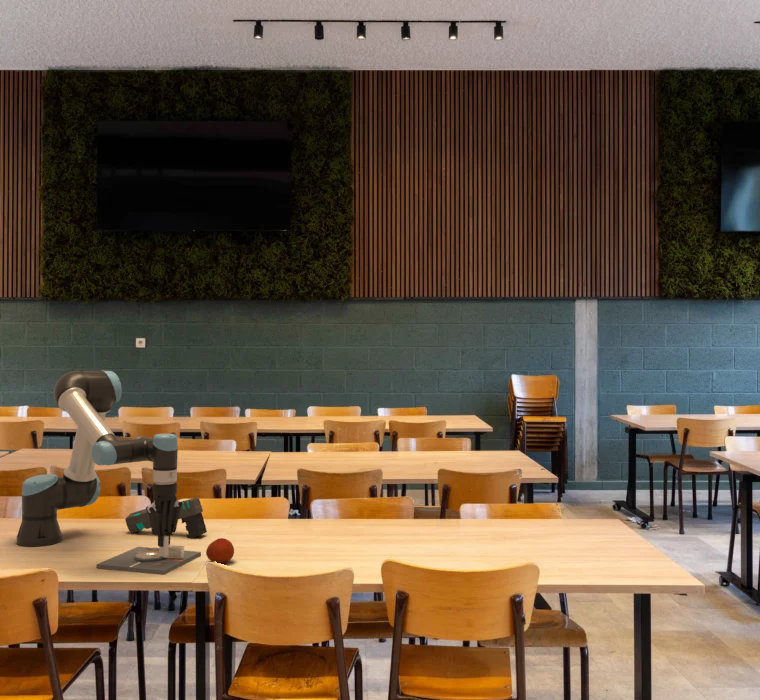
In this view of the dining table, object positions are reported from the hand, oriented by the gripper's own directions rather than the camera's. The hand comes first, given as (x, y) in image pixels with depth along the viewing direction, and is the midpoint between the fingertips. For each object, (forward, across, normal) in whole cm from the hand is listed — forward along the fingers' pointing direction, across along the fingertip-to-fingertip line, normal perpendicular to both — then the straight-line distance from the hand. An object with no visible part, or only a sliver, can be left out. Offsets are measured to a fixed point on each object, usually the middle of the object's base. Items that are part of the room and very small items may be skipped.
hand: (163, 555), depth 261 cm
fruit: (+4, +15, -10) cm, 18 cm away
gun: (+4, +28, +36) cm, 45 cm away
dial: (+2, +3, +6) cm, 7 cm away
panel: (+4, +1, +8) cm, 9 cm away
